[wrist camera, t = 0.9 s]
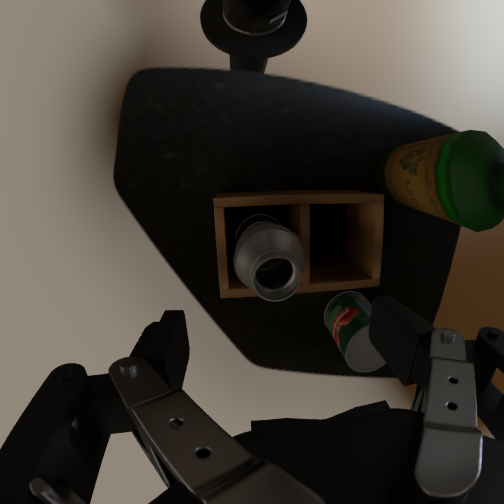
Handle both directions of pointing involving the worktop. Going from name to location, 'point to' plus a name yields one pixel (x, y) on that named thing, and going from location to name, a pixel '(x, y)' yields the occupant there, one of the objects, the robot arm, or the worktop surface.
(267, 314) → the worktop surface
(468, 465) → the robot arm
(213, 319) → the worktop surface
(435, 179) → the bottle
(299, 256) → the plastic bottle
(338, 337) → the canned tomato
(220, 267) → the bottle rack
